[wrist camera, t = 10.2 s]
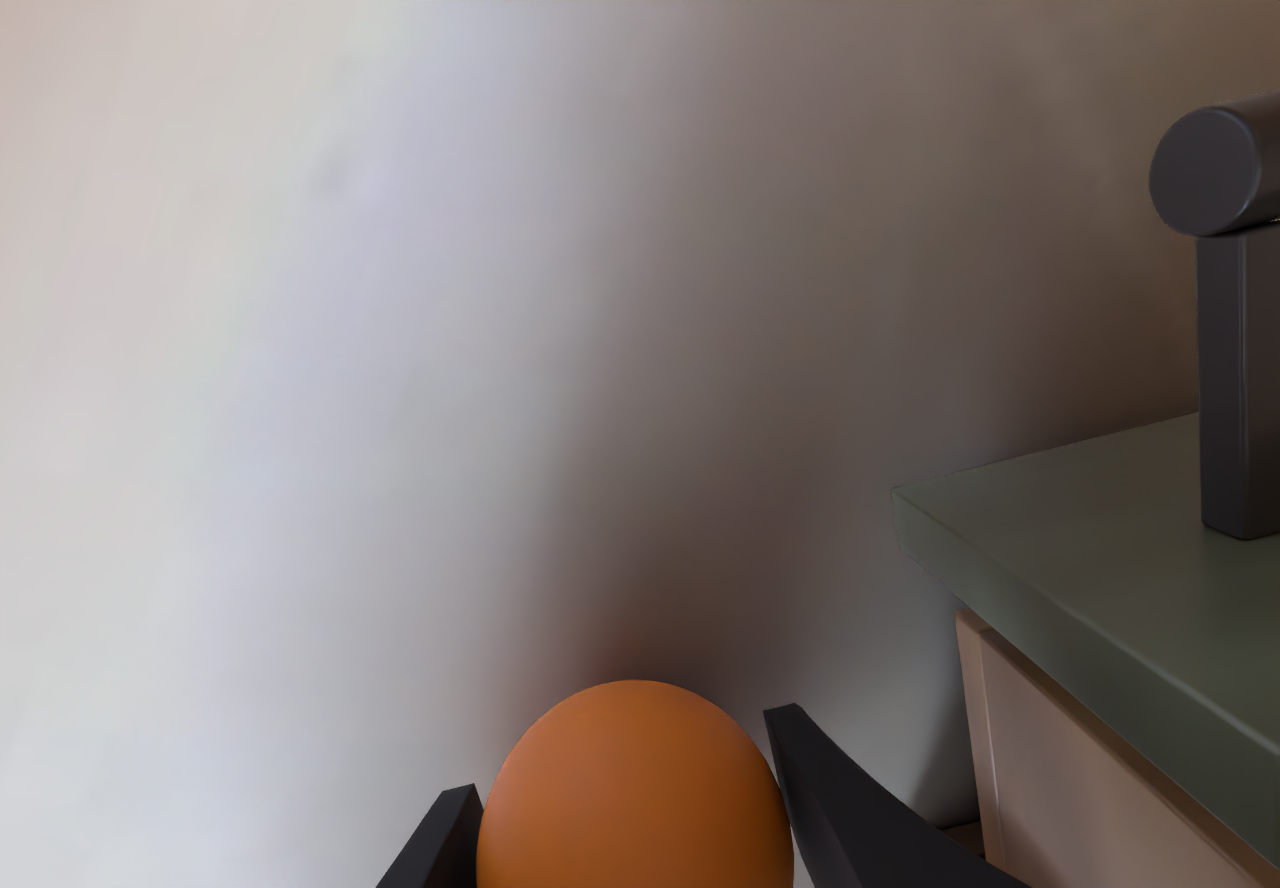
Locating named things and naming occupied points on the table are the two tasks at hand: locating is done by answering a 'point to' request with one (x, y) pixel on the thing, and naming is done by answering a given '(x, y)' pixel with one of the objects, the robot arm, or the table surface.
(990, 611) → the drawer
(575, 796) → the orange
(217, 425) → the table surface
